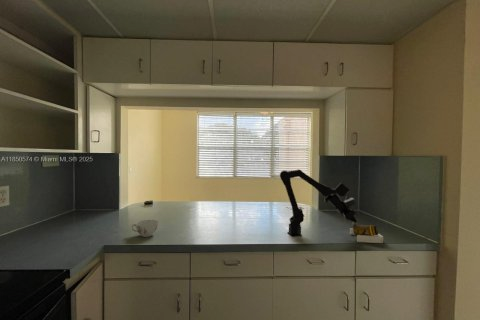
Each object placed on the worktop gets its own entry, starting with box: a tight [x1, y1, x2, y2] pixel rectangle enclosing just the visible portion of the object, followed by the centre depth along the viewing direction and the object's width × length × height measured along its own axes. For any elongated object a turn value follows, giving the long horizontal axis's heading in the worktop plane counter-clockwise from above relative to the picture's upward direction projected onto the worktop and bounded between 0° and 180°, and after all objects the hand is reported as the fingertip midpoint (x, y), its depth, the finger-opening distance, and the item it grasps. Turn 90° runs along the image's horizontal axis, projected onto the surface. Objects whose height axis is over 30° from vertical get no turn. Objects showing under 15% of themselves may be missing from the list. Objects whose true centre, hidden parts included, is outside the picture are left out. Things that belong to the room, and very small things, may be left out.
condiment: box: [351, 221, 379, 238], centre depth 147 cm, size 7×8×12 cm
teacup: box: [130, 219, 159, 238], centre depth 149 cm, size 15×12×8 cm
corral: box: [349, 227, 384, 244], centre depth 150 cm, size 14×14×4 cm
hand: (356, 221), depth 150 cm, fingers closed
